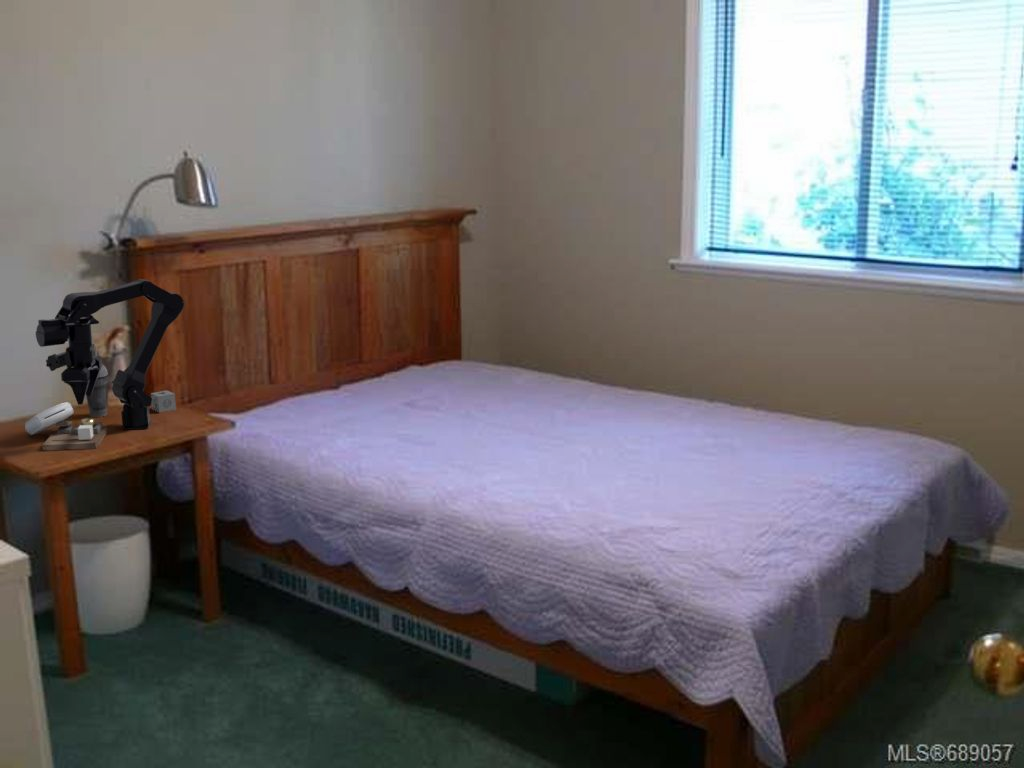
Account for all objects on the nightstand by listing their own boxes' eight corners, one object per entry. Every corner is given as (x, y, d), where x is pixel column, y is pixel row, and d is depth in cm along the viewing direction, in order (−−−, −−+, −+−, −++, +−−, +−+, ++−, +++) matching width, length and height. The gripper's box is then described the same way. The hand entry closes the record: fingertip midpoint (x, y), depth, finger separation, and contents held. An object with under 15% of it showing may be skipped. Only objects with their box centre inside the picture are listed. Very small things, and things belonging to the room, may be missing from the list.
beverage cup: (93, 411, 317) (86, 343, 312) (117, 412, 316) (110, 344, 311) (80, 418, 310) (73, 349, 305) (104, 419, 309) (97, 349, 304)
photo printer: (57, 407, 300) (70, 397, 291) (64, 421, 301) (78, 412, 291) (21, 423, 294) (34, 413, 284) (29, 437, 294) (42, 428, 285)
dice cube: (168, 406, 322) (167, 390, 321) (176, 410, 319) (174, 393, 317) (152, 410, 319) (150, 393, 318) (159, 413, 315) (158, 396, 314)
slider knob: (93, 435, 287) (92, 424, 287) (90, 439, 285) (89, 428, 284) (81, 436, 287) (80, 425, 286) (78, 439, 284) (77, 428, 283)
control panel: (107, 432, 297) (106, 422, 296) (95, 448, 283) (94, 437, 283) (56, 434, 295) (55, 424, 294) (42, 450, 282) (41, 439, 281)
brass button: (95, 424, 294) (95, 417, 294) (93, 428, 291) (92, 421, 291) (83, 425, 294) (82, 418, 294) (80, 428, 291) (79, 421, 290)
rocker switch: (72, 424, 294) (72, 421, 294) (67, 425, 290) (67, 422, 290) (61, 424, 294) (61, 421, 294) (56, 425, 289) (56, 422, 289)
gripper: (57, 335, 295) (61, 392, 299) (37, 349, 277) (42, 409, 281) (100, 335, 297) (104, 391, 300) (84, 349, 279) (88, 408, 282)
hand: (84, 400), depth 291 cm, fingers open, 9 cm apart
